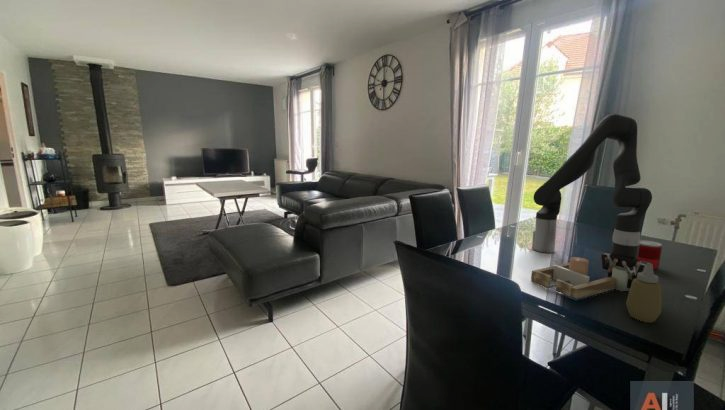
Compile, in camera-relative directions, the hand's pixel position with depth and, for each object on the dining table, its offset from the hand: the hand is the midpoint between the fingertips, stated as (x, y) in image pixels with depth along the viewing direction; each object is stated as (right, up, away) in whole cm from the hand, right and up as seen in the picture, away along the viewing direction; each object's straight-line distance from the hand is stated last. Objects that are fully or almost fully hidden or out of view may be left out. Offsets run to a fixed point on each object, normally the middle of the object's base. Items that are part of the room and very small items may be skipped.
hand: (620, 284), depth 112 cm
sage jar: (0, -2, 0) cm, 2 cm away
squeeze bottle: (-10, -6, -19) cm, 22 cm away
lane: (-16, -1, +4) cm, 16 cm away
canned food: (+27, +3, +19) cm, 33 cm away
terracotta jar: (-13, -1, +5) cm, 14 cm away
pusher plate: (-22, -2, +2) cm, 22 cm away
